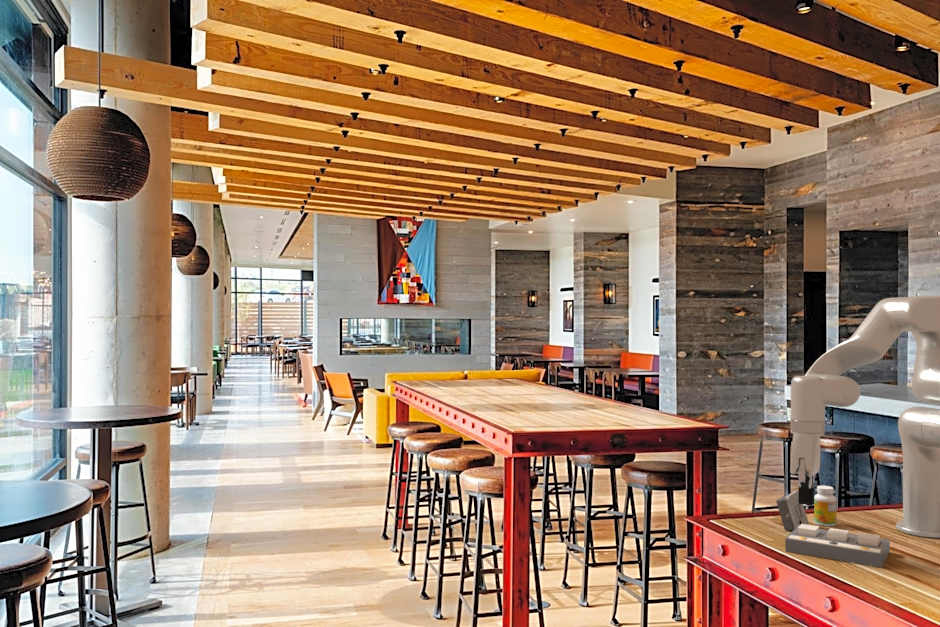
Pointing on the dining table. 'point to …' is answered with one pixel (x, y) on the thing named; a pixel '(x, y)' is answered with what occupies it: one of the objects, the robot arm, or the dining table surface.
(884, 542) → the switch panel
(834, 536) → the middle button
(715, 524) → the dining table surface
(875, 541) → the right button
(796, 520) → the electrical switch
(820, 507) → the supplement bottle
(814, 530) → the left button
